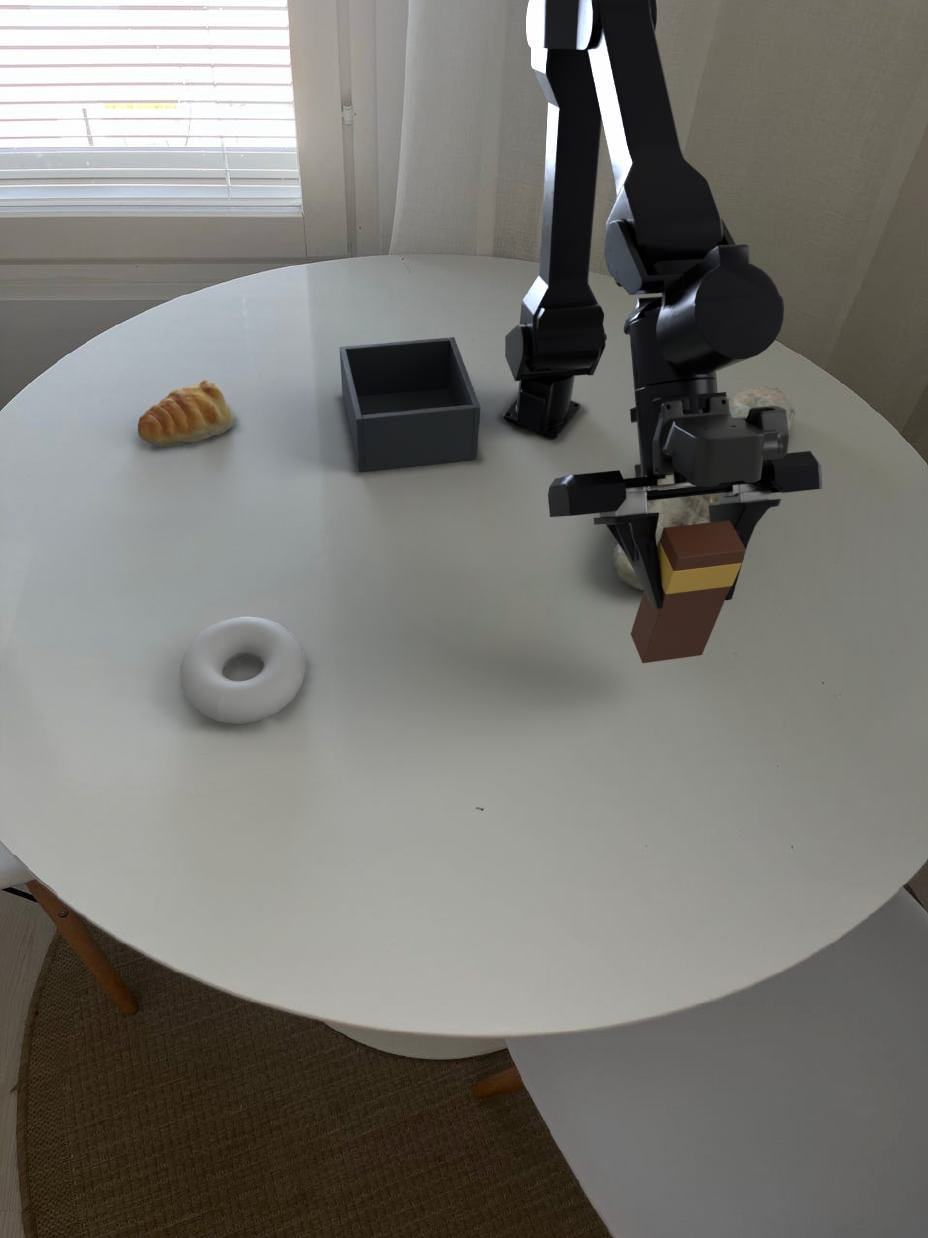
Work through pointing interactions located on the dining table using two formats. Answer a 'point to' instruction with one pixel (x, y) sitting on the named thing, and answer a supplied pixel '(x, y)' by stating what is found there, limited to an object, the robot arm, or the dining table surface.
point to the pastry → (186, 416)
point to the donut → (248, 696)
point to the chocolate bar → (688, 590)
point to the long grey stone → (694, 506)
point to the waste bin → (409, 404)
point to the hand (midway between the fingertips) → (692, 604)
